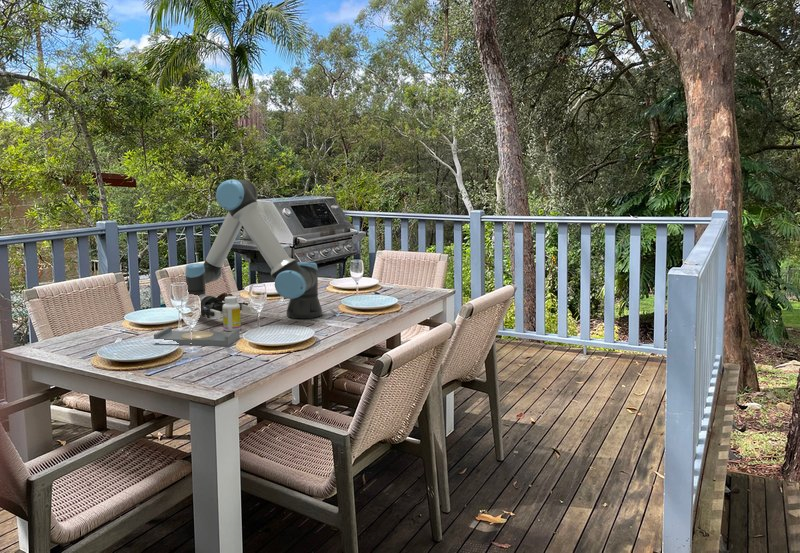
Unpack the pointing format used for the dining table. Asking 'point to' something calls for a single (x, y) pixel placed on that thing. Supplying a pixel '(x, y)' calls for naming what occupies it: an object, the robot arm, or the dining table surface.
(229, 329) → the supplement bottle
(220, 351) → the dining table surface
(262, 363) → the dining table surface
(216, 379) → the dining table surface
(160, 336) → the slate board
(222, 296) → the brown arch
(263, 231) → the robot arm
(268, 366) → the dining table surface
